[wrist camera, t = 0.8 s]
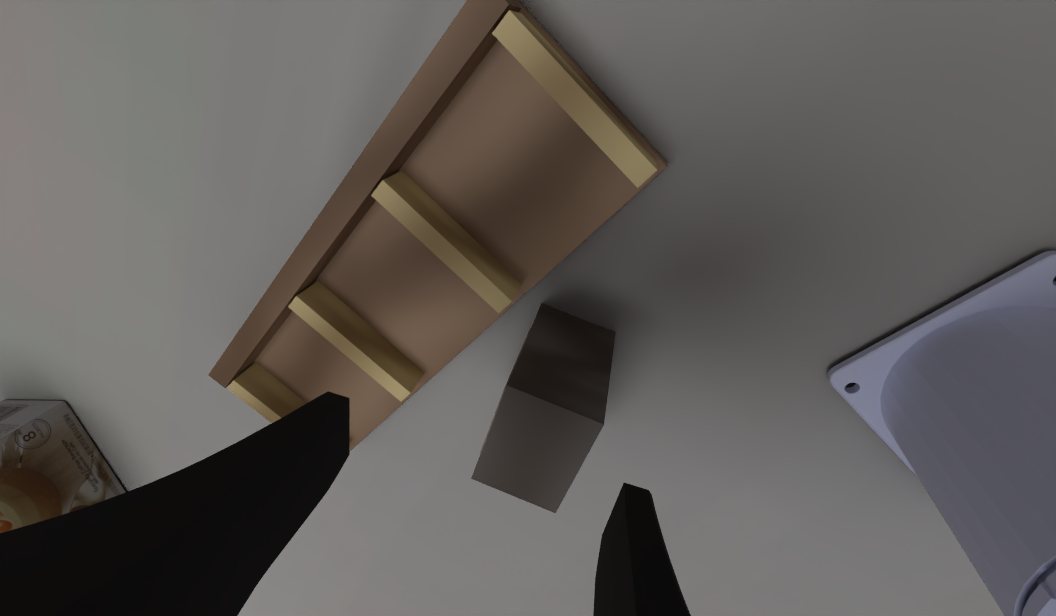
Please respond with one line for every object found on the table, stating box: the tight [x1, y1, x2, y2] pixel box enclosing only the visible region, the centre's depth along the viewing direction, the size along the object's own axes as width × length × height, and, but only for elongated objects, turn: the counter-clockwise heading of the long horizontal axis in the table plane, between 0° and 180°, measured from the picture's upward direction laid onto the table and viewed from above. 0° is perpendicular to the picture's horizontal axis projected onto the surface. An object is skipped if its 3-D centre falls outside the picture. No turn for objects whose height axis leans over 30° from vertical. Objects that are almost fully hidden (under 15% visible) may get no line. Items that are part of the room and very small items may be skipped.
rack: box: [209, 0, 667, 451], centre depth 21 cm, size 8×22×2 cm, turn 137°
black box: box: [471, 304, 615, 513], centre depth 20 cm, size 4×5×6 cm
